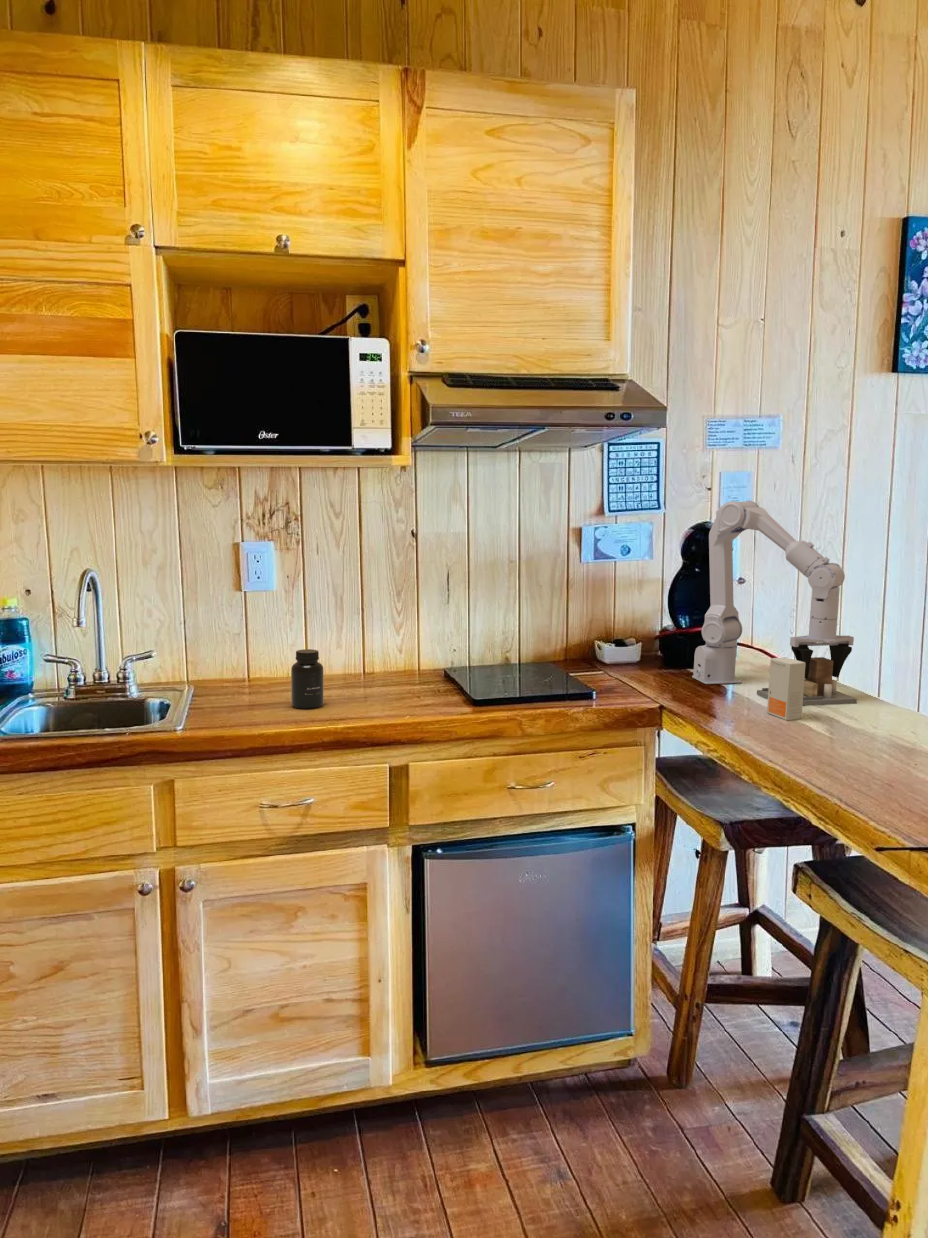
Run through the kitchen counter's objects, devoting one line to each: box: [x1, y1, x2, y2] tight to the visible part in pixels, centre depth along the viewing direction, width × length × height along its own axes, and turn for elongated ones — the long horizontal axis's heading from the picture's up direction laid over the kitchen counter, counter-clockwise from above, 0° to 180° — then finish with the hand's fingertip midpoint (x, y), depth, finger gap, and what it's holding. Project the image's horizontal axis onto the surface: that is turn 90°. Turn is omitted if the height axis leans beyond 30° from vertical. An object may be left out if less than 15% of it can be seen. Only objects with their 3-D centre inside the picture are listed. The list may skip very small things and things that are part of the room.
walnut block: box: [806, 656, 833, 696], centre depth 196 cm, size 4×4×8 cm
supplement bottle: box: [290, 648, 324, 710], centre depth 186 cm, size 7×7×12 cm
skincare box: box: [766, 656, 806, 721], centre depth 180 cm, size 6×4×12 cm
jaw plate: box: [803, 678, 818, 697], centre depth 195 cm, size 1×8×3 cm, turn 11°
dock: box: [756, 679, 858, 706], centre depth 196 cm, size 18×11×4 cm, turn 100°
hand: (819, 677), depth 196 cm, fingers open, 7 cm apart
